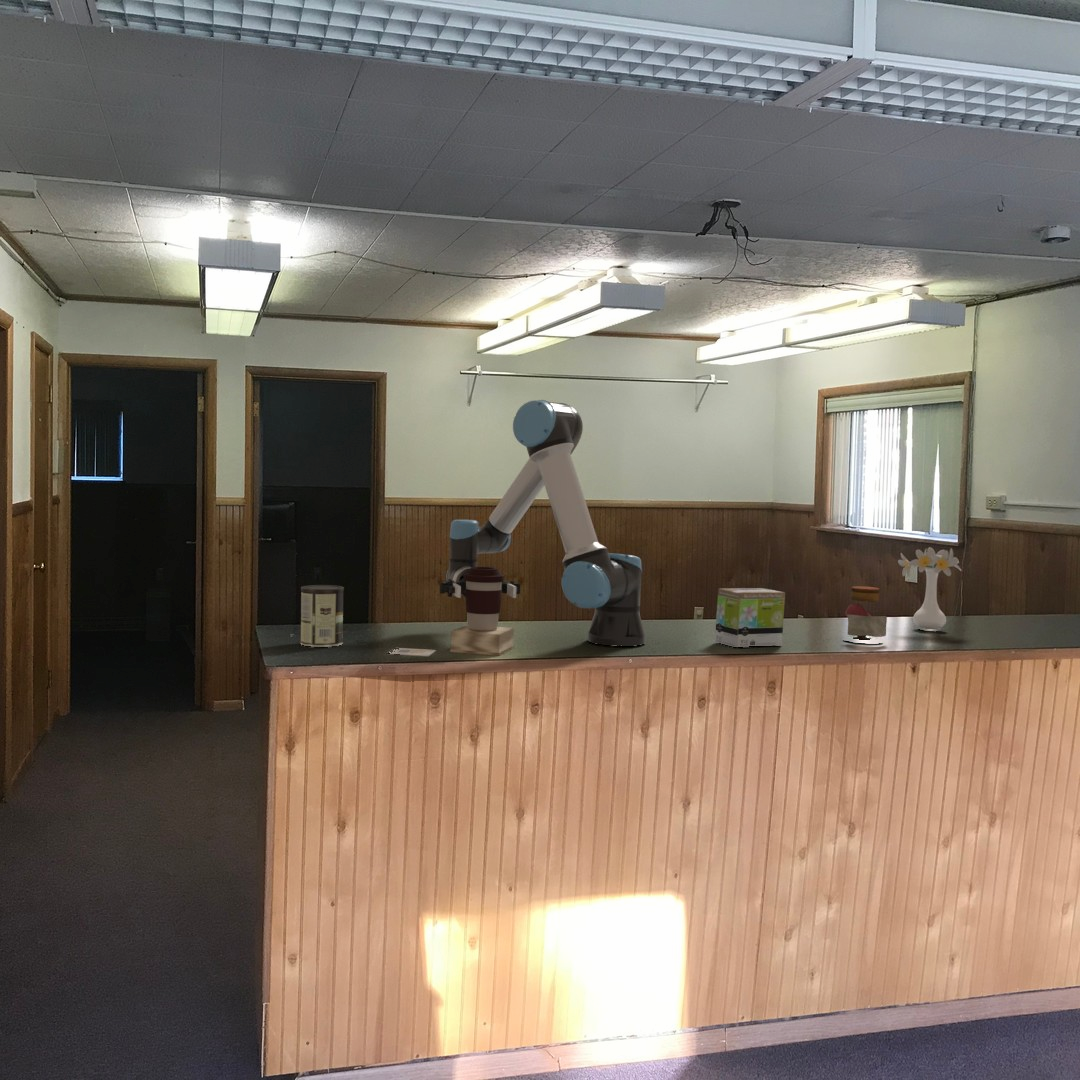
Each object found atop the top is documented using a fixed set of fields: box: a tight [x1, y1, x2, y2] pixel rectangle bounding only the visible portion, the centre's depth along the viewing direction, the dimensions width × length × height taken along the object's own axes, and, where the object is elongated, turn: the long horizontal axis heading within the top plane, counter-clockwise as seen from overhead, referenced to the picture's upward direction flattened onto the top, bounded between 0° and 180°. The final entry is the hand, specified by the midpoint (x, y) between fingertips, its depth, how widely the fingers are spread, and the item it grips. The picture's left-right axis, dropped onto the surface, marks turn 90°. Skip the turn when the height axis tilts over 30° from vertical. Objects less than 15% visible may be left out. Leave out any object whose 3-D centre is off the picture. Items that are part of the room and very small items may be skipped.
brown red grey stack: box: [844, 585, 888, 640], centre depth 296 cm, size 12×13×15 cm
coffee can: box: [300, 584, 345, 648], centre depth 262 cm, size 10×10×14 cm
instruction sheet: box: [388, 647, 437, 657], centre depth 256 cm, size 10×8×1 cm
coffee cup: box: [464, 566, 505, 631], centre depth 262 cm, size 10×10×15 cm
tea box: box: [714, 587, 786, 648], centre depth 284 cm, size 15×10×15 cm, turn 117°
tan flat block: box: [449, 624, 515, 657], centre depth 262 cm, size 12×12×5 cm
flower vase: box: [897, 546, 962, 629], centre depth 322 cm, size 13×18×25 cm
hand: (487, 592), depth 259 cm, fingers open, 13 cm apart
